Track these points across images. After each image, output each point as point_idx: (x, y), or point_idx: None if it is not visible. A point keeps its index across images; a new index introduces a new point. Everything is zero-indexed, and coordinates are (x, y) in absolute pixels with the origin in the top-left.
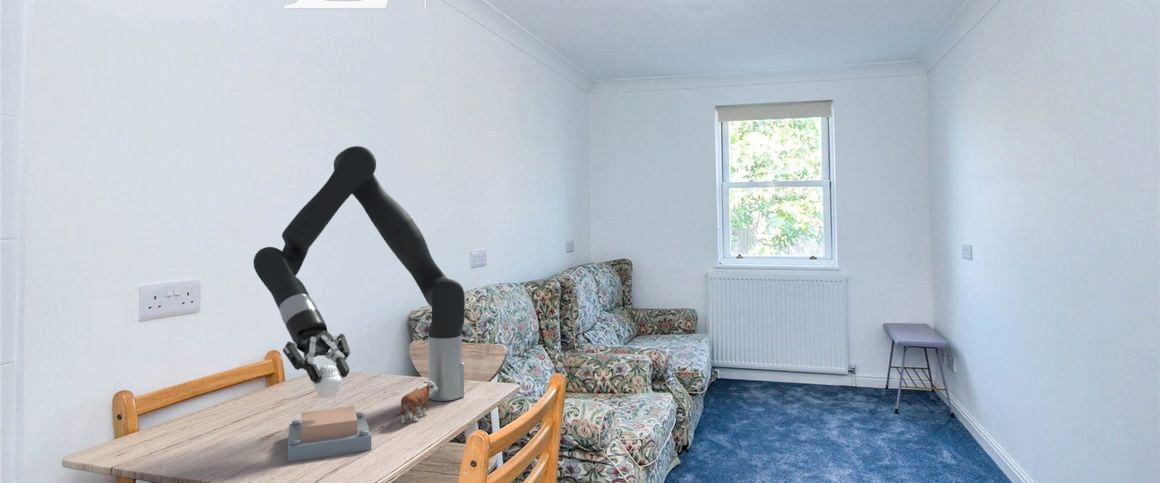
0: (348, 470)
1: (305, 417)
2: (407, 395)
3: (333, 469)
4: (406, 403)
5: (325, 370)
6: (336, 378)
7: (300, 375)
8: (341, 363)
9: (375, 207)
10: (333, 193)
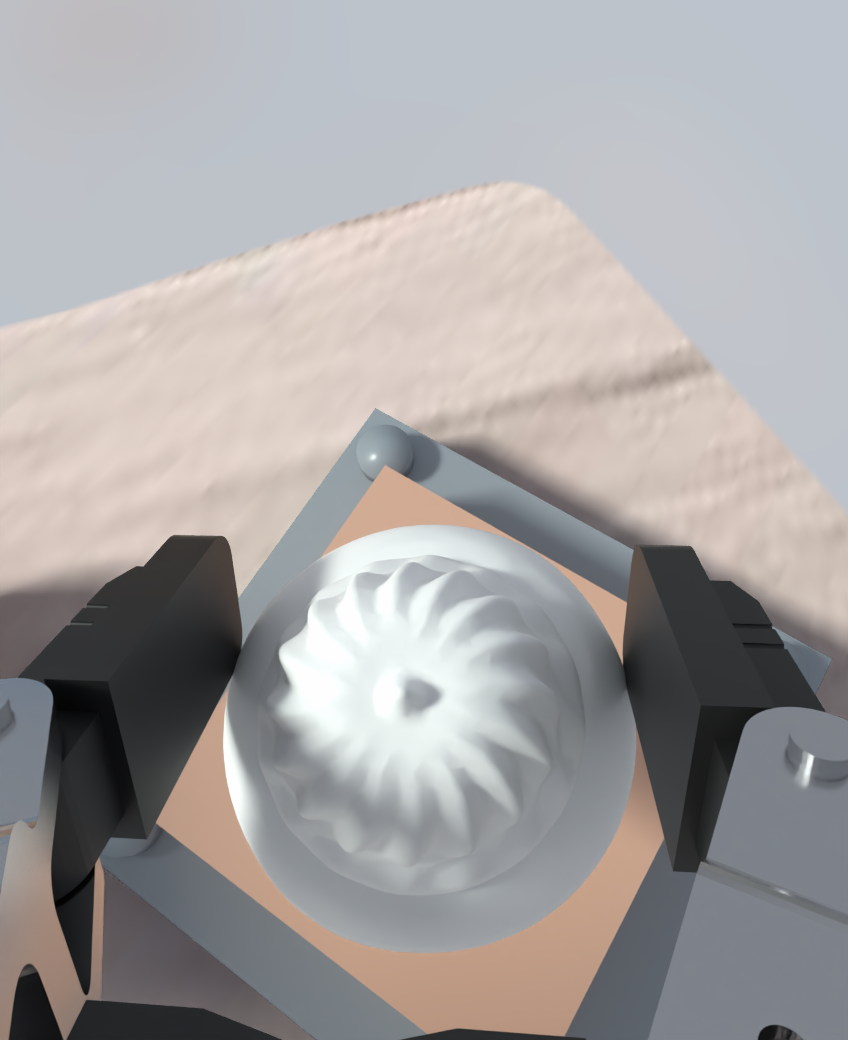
0: (626, 320)
1: (591, 896)
2: None
3: (667, 384)
4: None
5: (510, 628)
6: (411, 531)
7: None
8: (156, 632)
9: None
10: None
